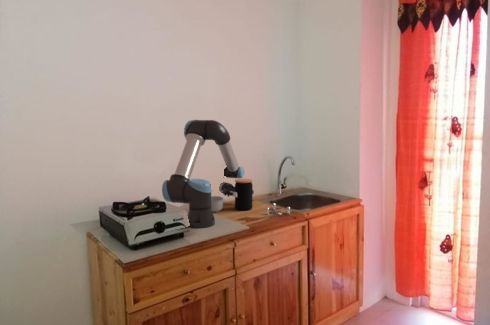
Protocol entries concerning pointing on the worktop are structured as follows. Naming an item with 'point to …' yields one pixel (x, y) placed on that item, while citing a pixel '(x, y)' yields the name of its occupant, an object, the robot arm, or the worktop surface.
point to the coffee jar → (243, 194)
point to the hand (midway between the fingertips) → (245, 193)
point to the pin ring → (276, 211)
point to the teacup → (216, 203)
